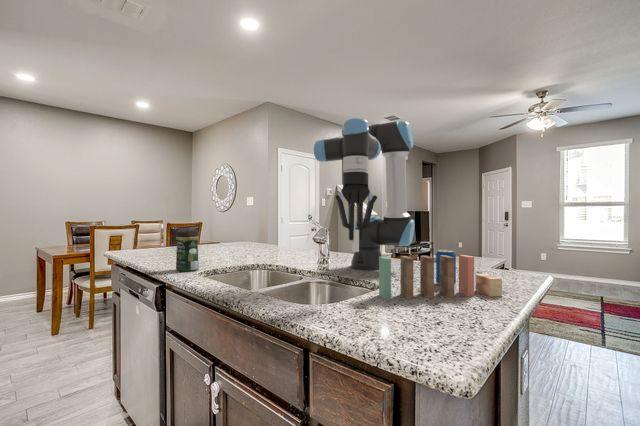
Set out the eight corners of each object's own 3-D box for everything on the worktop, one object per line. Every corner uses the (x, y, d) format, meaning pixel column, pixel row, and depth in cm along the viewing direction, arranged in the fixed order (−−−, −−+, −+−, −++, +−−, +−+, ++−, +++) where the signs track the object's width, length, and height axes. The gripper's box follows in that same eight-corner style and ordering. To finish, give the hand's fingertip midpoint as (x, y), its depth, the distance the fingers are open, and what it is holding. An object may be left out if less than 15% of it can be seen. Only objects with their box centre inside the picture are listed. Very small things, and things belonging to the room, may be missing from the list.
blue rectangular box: (452, 282, 114) (452, 249, 114) (458, 286, 107) (458, 252, 107) (434, 282, 114) (434, 249, 114) (439, 286, 108) (439, 251, 108)
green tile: (379, 295, 97) (379, 256, 97) (385, 294, 97) (385, 256, 97) (384, 299, 92) (384, 259, 92) (391, 299, 92) (390, 258, 92)
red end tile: (458, 292, 100) (458, 254, 100) (464, 292, 100) (464, 254, 100) (468, 296, 95) (468, 257, 95) (474, 296, 96) (474, 257, 95)
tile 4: (439, 292, 99) (439, 255, 99) (445, 292, 100) (445, 255, 100) (448, 297, 94) (448, 257, 94) (454, 297, 95) (454, 257, 95)
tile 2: (400, 294, 98) (400, 256, 98) (406, 294, 98) (406, 255, 98) (407, 298, 93) (407, 258, 93) (413, 298, 93) (413, 258, 93)
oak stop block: (475, 290, 102) (475, 274, 102) (486, 290, 103) (486, 273, 103) (489, 296, 95) (489, 278, 95) (501, 296, 96) (501, 278, 96)
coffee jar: (172, 270, 137) (172, 228, 137) (189, 267, 144) (189, 227, 144) (184, 273, 132) (184, 229, 132) (201, 270, 138) (201, 228, 138)
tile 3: (420, 293, 99) (420, 255, 99) (426, 293, 99) (426, 255, 99) (427, 298, 94) (427, 258, 94) (434, 297, 94) (434, 257, 94)
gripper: (336, 170, 89) (336, 253, 88) (380, 171, 90) (380, 252, 90) (332, 173, 96) (331, 250, 96) (373, 174, 98) (372, 249, 98)
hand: (355, 251), depth 93 cm, fingers closed
